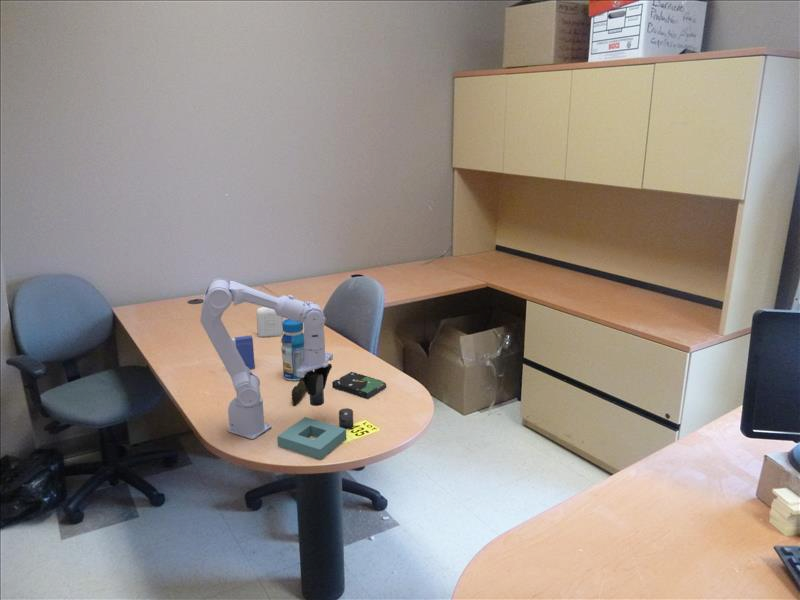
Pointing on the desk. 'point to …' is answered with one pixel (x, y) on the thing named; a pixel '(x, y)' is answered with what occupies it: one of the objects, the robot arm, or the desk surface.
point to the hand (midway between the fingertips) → (316, 391)
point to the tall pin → (318, 391)
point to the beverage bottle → (292, 348)
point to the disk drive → (359, 385)
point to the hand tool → (298, 392)
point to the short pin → (346, 418)
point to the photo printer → (268, 322)
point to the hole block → (316, 448)
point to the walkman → (245, 349)
